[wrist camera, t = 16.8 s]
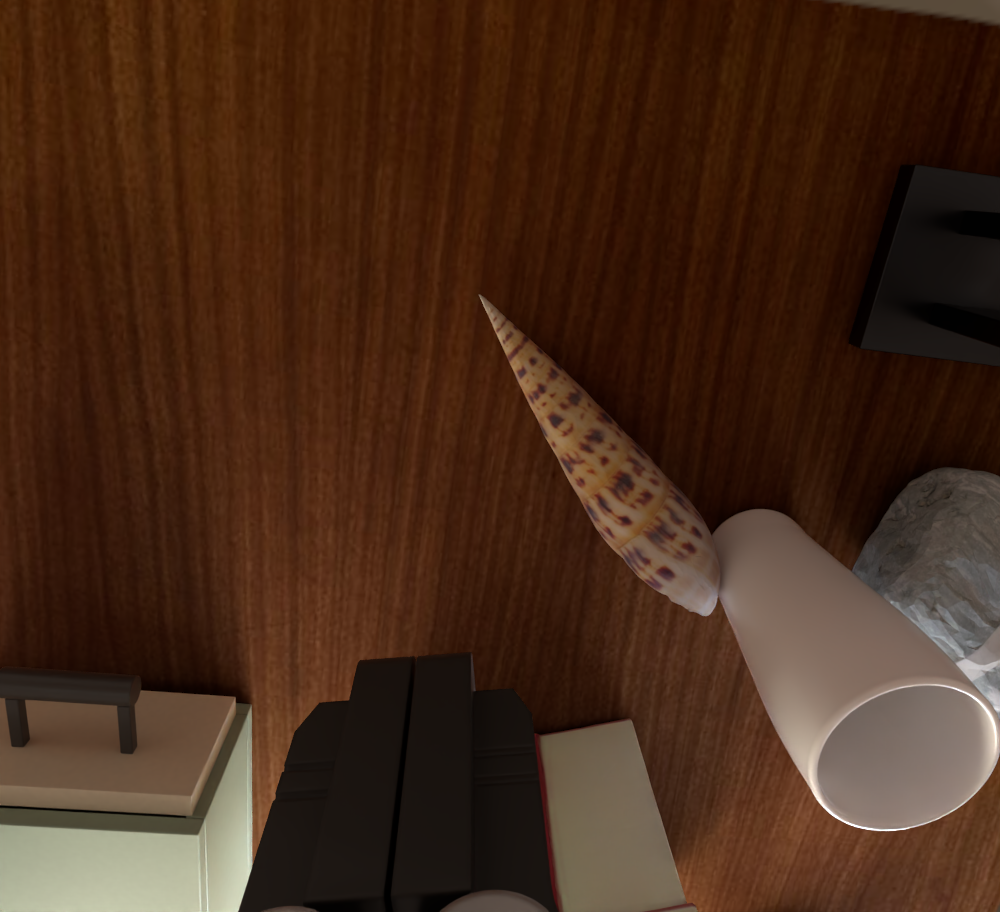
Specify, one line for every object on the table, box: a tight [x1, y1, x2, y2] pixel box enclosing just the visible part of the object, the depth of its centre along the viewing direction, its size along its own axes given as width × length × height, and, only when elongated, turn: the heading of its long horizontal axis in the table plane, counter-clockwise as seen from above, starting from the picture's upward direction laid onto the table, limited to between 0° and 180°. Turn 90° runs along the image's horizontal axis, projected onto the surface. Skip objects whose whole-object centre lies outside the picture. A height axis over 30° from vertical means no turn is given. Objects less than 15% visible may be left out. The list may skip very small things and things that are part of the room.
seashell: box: [479, 294, 721, 616], centre depth 34 cm, size 4×18×5 cm, turn 35°
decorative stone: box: [849, 467, 1000, 755], centre depth 37 cm, size 13×10×6 cm
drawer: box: [0, 666, 236, 818], centre depth 39 cm, size 21×13×7 cm, turn 173°
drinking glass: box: [712, 509, 1000, 831], centre depth 32 cm, size 7×7×15 cm
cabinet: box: [0, 703, 252, 912], centre depth 40 cm, size 18×14×9 cm
